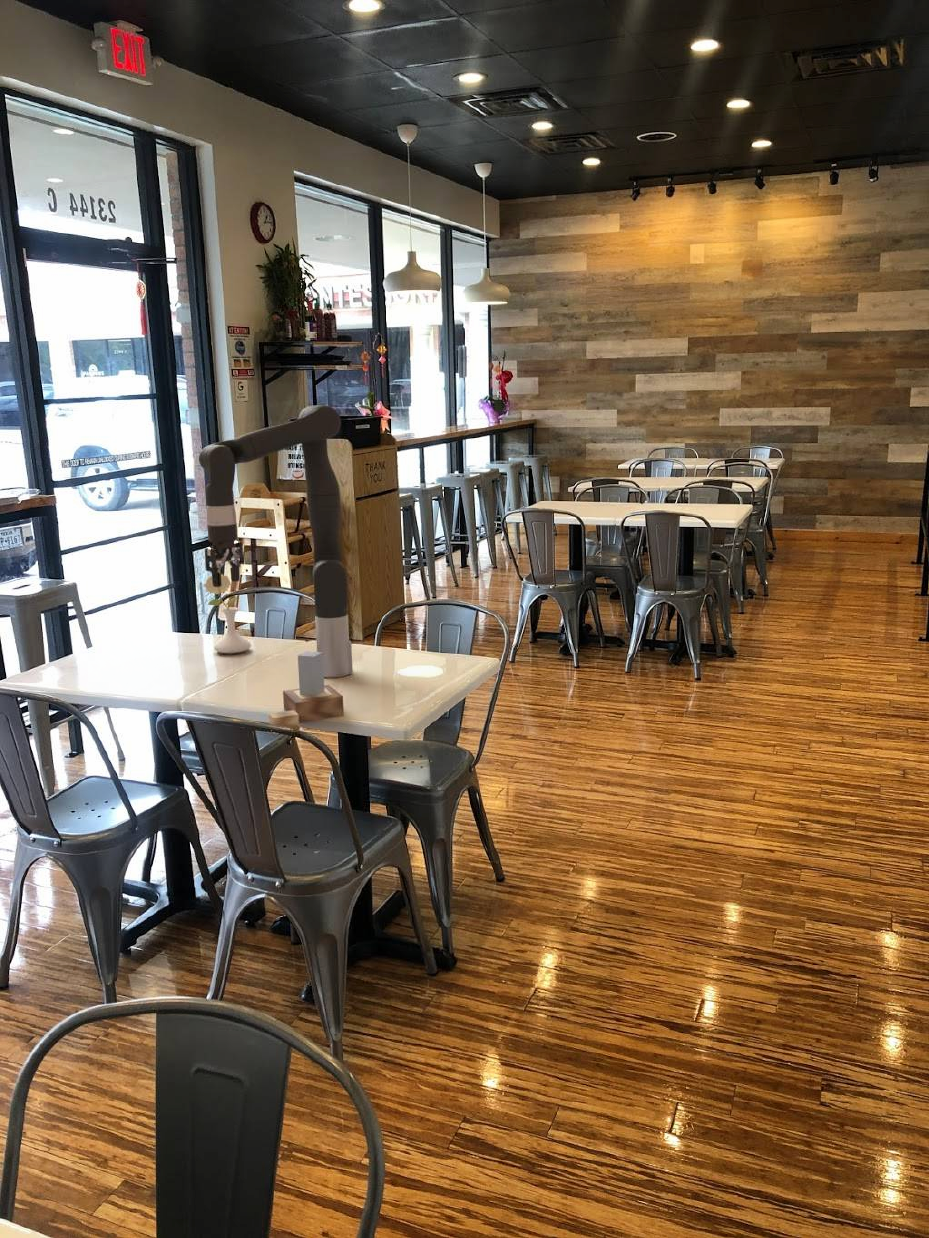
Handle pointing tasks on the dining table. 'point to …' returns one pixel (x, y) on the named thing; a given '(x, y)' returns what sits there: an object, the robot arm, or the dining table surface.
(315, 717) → the plinth
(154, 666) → the dining table surface
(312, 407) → the robot arm
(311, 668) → the pillar
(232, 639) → the flower in vase
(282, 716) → the oak block
